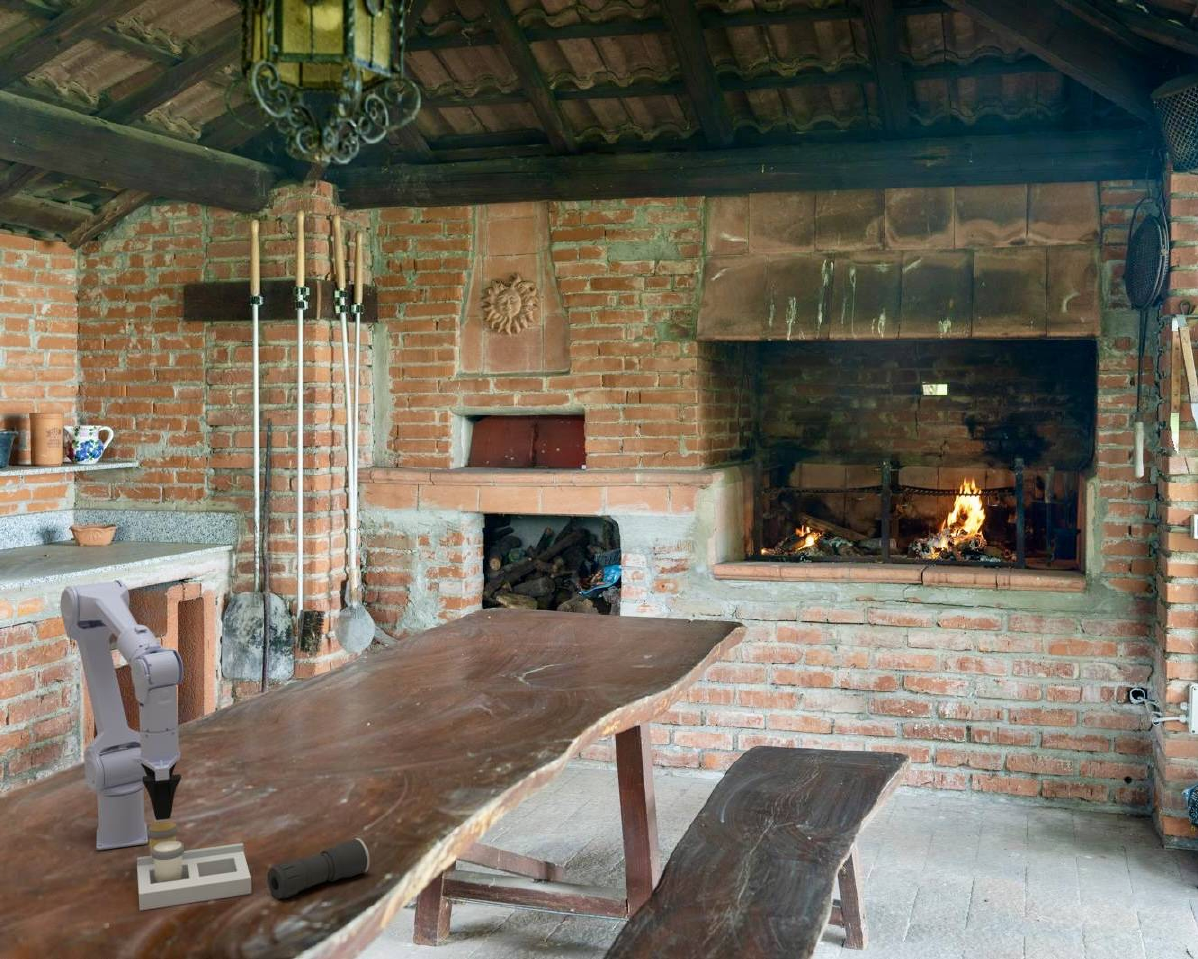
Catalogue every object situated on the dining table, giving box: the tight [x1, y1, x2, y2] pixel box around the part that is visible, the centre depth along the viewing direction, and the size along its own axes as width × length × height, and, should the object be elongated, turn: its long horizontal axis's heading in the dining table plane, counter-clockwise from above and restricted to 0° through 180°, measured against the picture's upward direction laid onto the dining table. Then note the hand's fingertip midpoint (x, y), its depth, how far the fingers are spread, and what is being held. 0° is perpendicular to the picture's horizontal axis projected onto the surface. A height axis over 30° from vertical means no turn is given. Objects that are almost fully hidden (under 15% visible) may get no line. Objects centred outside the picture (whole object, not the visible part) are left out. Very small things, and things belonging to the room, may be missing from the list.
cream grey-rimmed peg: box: [152, 840, 185, 883], centre depth 190 cm, size 5×5×7 cm
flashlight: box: [267, 837, 370, 899], centre depth 192 cm, size 15×5×5 cm, turn 133°
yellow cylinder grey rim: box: [147, 820, 179, 856], centre depth 198 cm, size 5×5×7 cm
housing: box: [136, 842, 252, 911], centre depth 191 cm, size 12×16×4 cm
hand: (161, 810), depth 197 cm, fingers open, 7 cm apart
